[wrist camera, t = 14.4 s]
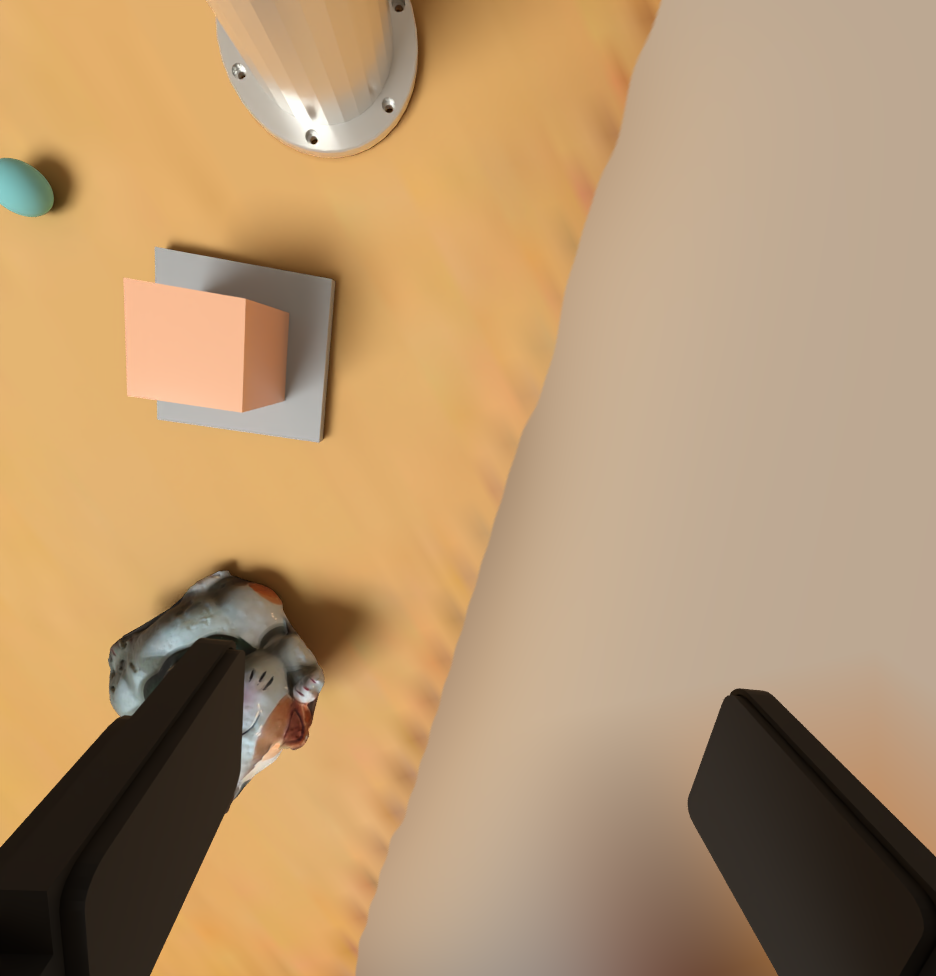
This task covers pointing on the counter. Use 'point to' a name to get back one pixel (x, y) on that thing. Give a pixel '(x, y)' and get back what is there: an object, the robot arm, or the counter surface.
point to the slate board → (306, 341)
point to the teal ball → (24, 189)
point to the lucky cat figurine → (255, 629)
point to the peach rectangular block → (203, 348)
